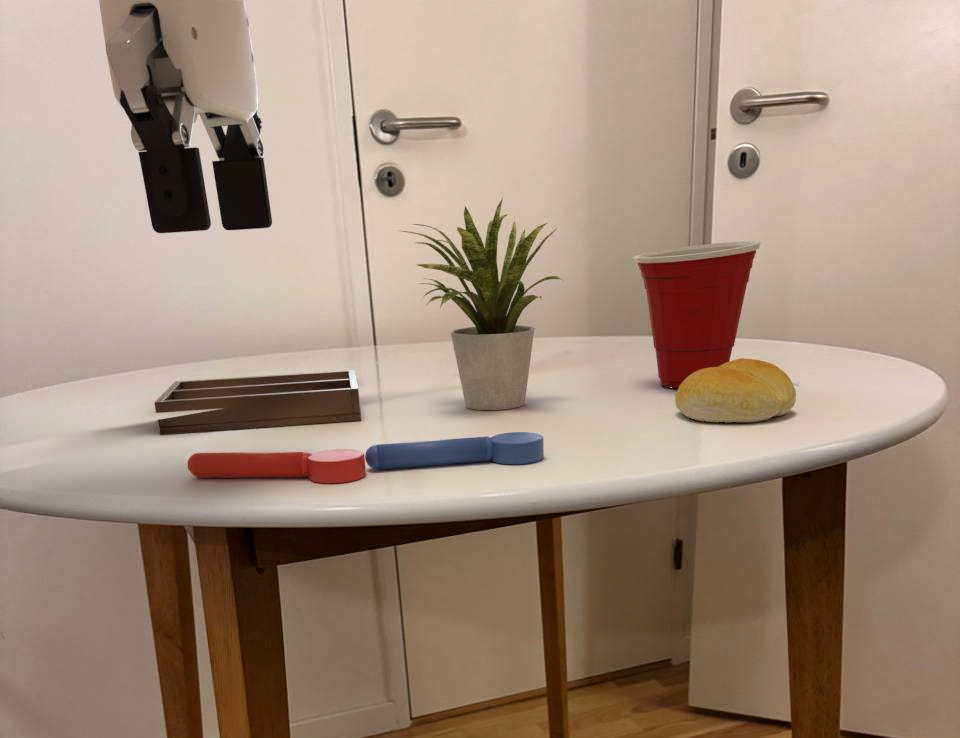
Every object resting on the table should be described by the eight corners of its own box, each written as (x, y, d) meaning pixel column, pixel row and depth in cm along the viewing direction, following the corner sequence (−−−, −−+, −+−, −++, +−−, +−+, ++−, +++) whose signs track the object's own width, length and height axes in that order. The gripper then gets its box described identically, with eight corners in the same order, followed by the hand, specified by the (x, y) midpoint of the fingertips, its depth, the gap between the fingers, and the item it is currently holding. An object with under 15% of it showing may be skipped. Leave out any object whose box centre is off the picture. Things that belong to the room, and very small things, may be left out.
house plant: (412, 392, 89) (398, 203, 82) (556, 385, 89) (555, 196, 82) (407, 422, 76) (390, 200, 69) (576, 413, 76) (576, 191, 69)
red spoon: (178, 484, 60) (174, 459, 59) (202, 470, 63) (198, 447, 63) (357, 483, 58) (355, 458, 58) (372, 469, 62) (369, 445, 61)
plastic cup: (615, 380, 90) (617, 246, 85) (720, 372, 92) (728, 240, 87) (654, 399, 81) (658, 248, 76) (771, 389, 82) (783, 241, 77)
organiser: (159, 435, 75) (153, 402, 74) (179, 410, 85) (174, 381, 84) (361, 420, 77) (358, 388, 76) (357, 398, 87) (354, 369, 86)
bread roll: (655, 416, 73) (656, 364, 72) (727, 400, 78) (730, 351, 77) (741, 430, 67) (745, 373, 66) (813, 411, 72) (819, 358, 71)
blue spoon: (367, 476, 60) (364, 451, 59) (365, 463, 63) (362, 440, 62) (548, 462, 61) (548, 438, 61) (537, 450, 64) (537, 427, 64)
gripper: (167, -73, 57) (216, 231, 64) (-6, -181, 41) (83, 237, 48) (284, -87, 56) (321, 224, 63) (152, -204, 40) (220, 228, 47)
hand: (217, 230), depth 56 cm, fingers open, 9 cm apart
